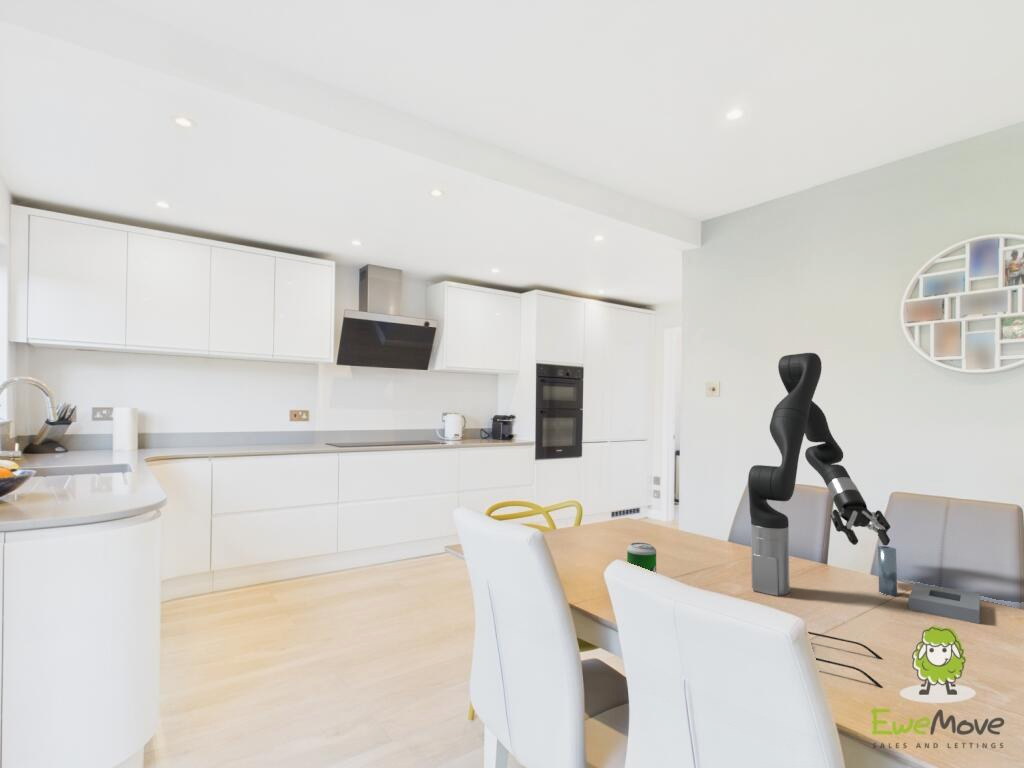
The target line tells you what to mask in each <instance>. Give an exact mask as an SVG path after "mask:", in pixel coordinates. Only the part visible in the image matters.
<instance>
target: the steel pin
mask: <svg viewBox="0 0 1024 768" xmlns="http://www.w3.org/2000/svg"><path fill="white" fill-rule="evenodd" d="M877 561H878V562H877V564H878V565H877V566H878V567H877V568H878V593H879V592H881V593H883V594H886V595H885V596H887V595H891V596H890V597H897V596H898V576H897V575H898V572H897V570H898V569H897V548H894V547H891V546H887V545H882V546H881V545H880V546H879V545H878V546H877ZM883 594H882V595H883ZM893 595H894V596H893ZM896 595H897V596H896Z"/></svg>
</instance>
